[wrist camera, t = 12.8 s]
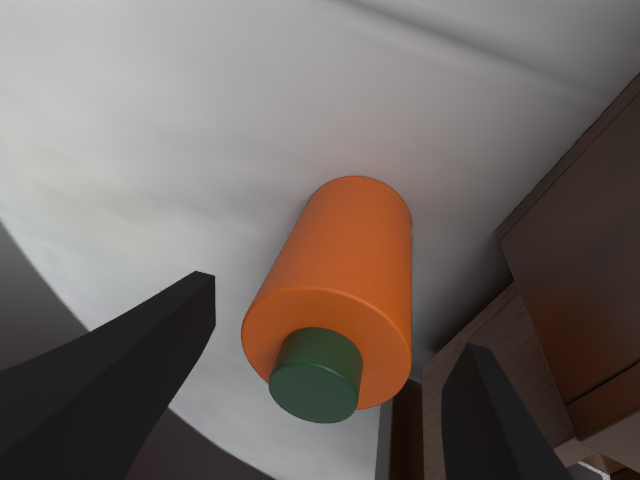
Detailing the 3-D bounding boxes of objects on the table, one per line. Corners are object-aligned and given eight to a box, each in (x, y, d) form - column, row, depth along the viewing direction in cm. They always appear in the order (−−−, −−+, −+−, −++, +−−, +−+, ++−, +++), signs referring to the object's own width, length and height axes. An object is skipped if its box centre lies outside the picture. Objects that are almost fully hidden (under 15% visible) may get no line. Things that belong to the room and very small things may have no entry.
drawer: (525, 508, 22) (564, 678, 16) (345, 419, 21) (320, 565, 16) (905, 338, 12) (1323, 612, 7) (596, 165, 12) (771, 307, 6)
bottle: (348, 285, 17) (305, 466, 10) (283, 214, 16) (184, 366, 9) (434, 238, 15) (452, 429, 8) (367, 152, 14) (320, 290, 7)
